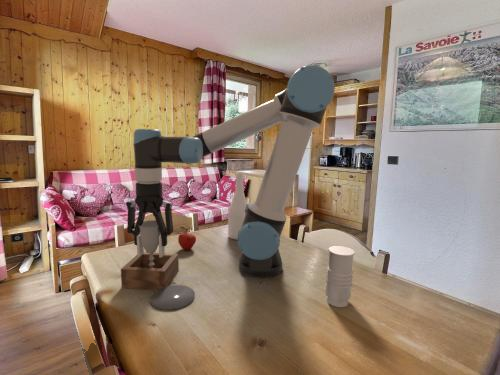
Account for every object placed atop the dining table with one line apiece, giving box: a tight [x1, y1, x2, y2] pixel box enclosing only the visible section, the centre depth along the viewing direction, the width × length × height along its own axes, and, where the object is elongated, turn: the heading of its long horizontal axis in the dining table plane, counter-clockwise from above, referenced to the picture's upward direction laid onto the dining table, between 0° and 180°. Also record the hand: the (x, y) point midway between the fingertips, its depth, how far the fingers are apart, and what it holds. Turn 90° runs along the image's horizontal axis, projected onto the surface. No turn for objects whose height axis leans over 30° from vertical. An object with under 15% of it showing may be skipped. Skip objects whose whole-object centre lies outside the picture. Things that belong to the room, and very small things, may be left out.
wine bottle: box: [227, 171, 248, 241], centre depth 129 cm, size 10×10×30 cm
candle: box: [325, 245, 355, 308], centre depth 79 cm, size 7×7×15 cm
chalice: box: [138, 220, 161, 268], centre depth 89 cm, size 7×7×18 cm
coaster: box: [149, 284, 196, 311], centre depth 80 cm, size 12×12×1 cm
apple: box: [176, 226, 197, 251], centre depth 114 cm, size 8×7×10 cm
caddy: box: [120, 251, 179, 291], centre depth 90 cm, size 13×13×6 cm
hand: (151, 255), depth 89 cm, fingers open, 6 cm apart
